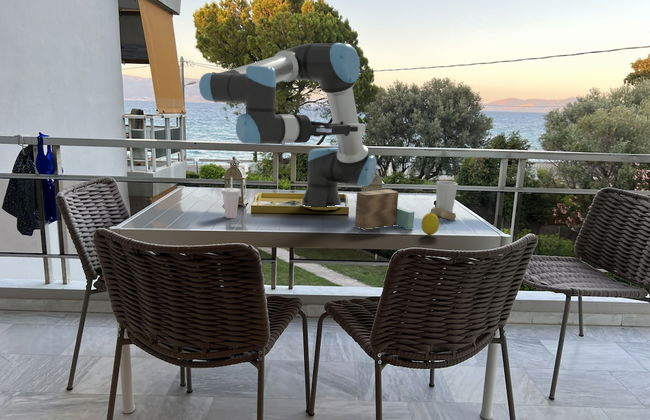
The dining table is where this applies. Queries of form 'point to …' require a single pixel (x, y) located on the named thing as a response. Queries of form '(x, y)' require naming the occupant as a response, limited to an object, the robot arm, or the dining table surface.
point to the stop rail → (405, 218)
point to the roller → (443, 213)
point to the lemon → (430, 224)
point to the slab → (376, 208)
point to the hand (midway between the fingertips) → (363, 128)
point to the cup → (445, 195)
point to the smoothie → (230, 201)
